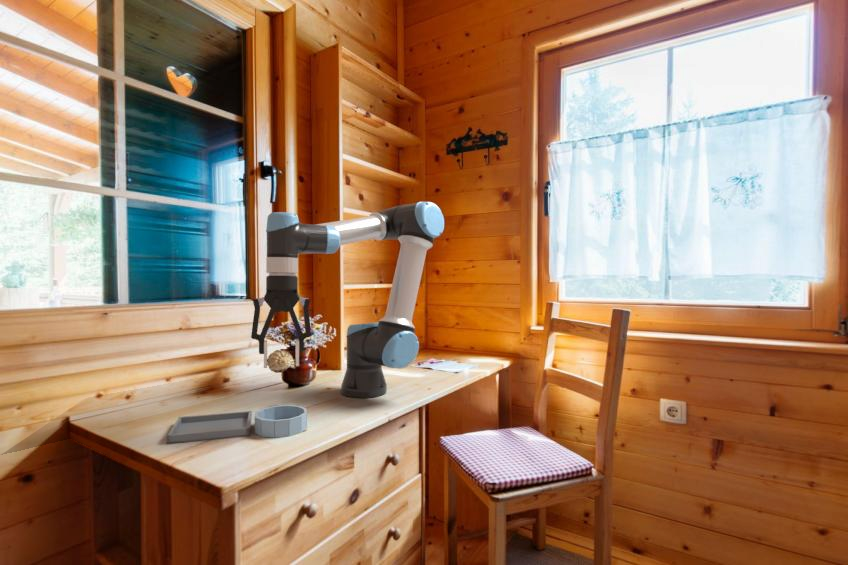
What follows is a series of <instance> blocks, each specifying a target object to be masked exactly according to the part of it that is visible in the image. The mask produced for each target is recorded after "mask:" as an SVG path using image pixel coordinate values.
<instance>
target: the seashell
mask: <svg viewBox="0 0 848 565" xmlns="http://www.w3.org/2000/svg"><path fill="white" fill-rule="evenodd" d="M267 367H268V369H269V370H270V371H271V372H273V373H276V374H277V373H278V374H279V373H284V372H285V371H287V369H288V368H291V369H296V363H295V358H294V356H293V354H291V353H290V351H289V350H285V349H281V350H279V349H276V350H274V351H273V352H271V353H270V354H269V355H268V356H267Z"/></svg>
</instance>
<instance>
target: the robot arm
mask: <svg viewBox="0 0 848 565" xmlns="http://www.w3.org/2000/svg"><path fill="white" fill-rule="evenodd" d="M444 229H445V217H444V214H443V213H442V210H441V208H440V207H439V206H438V205H437V204H436V203H434V202H431V201H419V202H415V203H409V204H402V205H397V206H393V207H390V208H387V209H383V210H379V211H373V212H371V213H370V214H369V215H367V216H361V217H355V218H350V219H349V218H348V219H343V220H342V219H341V220H336V221H330V222H324V223H317V224H310V223H303V222H300V221H299V216H298V215H297V214H296V213H292V212H285V211H284V212H283V211H277V212H270V213H269V214H268V215H267V219H266V230H265V232H266V262H265V263H266V266H265V267H266V270H265V272H266V274H268V275H267V276H266V278H265V279H266V280H265V281H266V283H265V284H266V289H265V295H264V296H262V297H258V298H253V301H252V302H253V306H254V312H253V320H252V327H251V335H250V337H251V339H253V340H256V341H258V353H259V355H263V369H267V368H268V365H267V359H268V339H266V336H267V334H268V330H269V329H270V325H271V323H272V321H273V319H274V316H275V314H276V313H280V312H284V313H289V315H290V318H291V321H292V324H293V326H294V329H295V332H296V334H297V337H298V338H295V343H294V344H295V346H294V348H295V353H294V354H295V358H294V359H295V361H294V362H295V363H296V365H295V367H300V353H304V350H305V339H307V338H311V336H312V330H311V321H310V320H311V319H310V310H309V307H310V302H311V300H310V298H309V297H301V296H300V295H299V293H298V290H299V289H298V286H299V285H298V283H299V282H298V281H299V279H298V278H299V277H298V276H297V274H298V272H299V255H307V254H309V255H311V254H324V255H326V254H327V255H328V254H335V253H337V252H338V250H339V249H340V246H342V245H348V244H352V243H353V244H354V243H358V242H364V241H368V240H369V241H370V240H374V241H378V242H379V241H383V240H384V241H385V240H398V242H399V244H400V249H399V253H398V258H397V262H396V266H395V271H394V275H393V279H392V283H391V284H392V285H391V287H390V293H389V297H388V301H387V307H386V311H385V314H384V316H383V317H381V319H379V320H378V322H367V323H356V324H354V323H353V324H350V325H348V326H347V331H346V371H345V372H344V376H343V380H342V383H341V386H340V393H341V395H343V396H345V397H349V398H359V399H365V398H375V397H380V396H383V395H385V394H386V393H387V391H388V387H387V382H386V379H385V375H384V372H383V367H387V368H389V369H398V370H399V369H405V368H407V367H408V366H409V365H411V364H412V363H413V362H414V360H416V358H417V357H418V356H417V355H418V353H419V351H420V350H419V349H420V342H419V340H418V339H419V338H418V337H417V335H416V334H415V330H416V327H415V325H414V324H413V322H412V321H413V317H414V314H415V313H414V312H415V308H416V302H417V299H418V293H419V288H420V284H421V280H422V276H423V275H422V274H423V270H424V266H425V265H424V264H425V260H426V256H427V251H428V250H429V249H432V248H433V245H434V241H435V238H438V237H440V236H441V235H443V231H444ZM264 302H265V303H266V304H267V305H268V307H269V308H270V309H269V312H268V314H267V316H266V320H265V322H264V325H263V327H262V330H261V332H260V334H258V328H259V321H260V320H259V319H260V312H261V307H263V305H264ZM298 302H300V305H301V307H302V310H303V313H302V314H303V321H304V330H305V332H302V328H301V326H300V322H299V321H298V318H297V314H296V313H295V312H296V311H295V309H294V307H295V306H296V305H297V303H298Z"/></svg>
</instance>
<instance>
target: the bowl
mask: <svg viewBox="0 0 848 565" xmlns="http://www.w3.org/2000/svg"><path fill="white" fill-rule="evenodd" d="M307 429H308V410H307V408H306V407H304V406H300V405H292V404H284V405H282V404H281V405H272V406H270V407H265V408H261V409H260V410H258V411H255V413H254V435H255V434H256V435H257V436H260V437H262V438H263V437H264V438H284V437H291V436H294V435H297V434H300V433H303V432H304V431H305V430H307Z"/></svg>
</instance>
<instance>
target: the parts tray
mask: <svg viewBox="0 0 848 565" xmlns="http://www.w3.org/2000/svg"><path fill="white" fill-rule="evenodd" d="M252 412H253V410H246V411H236V412H234V411H233V412H224V413H215V414H214V413H211V414H202V415H201V414H200V415H198V414H197V415H189V416H178V418H177V420H176V421H175V422H174V424H173V426H172V427H171V428H170V431H169V432H168V433H167V435H166V445H168V444H170V445H172V444H179V443H190V442H201V441H208V440H209V441H210V440H220V439H230V438H239V437H240V438H242V437H248V436H250V435H251V425H252V418H253V417H252V416H253V415H252V414H253V413H252Z"/></svg>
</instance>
